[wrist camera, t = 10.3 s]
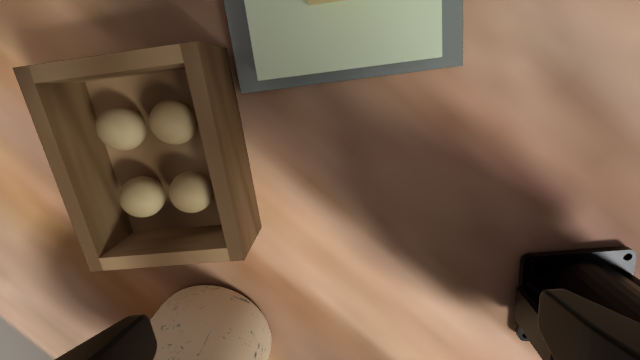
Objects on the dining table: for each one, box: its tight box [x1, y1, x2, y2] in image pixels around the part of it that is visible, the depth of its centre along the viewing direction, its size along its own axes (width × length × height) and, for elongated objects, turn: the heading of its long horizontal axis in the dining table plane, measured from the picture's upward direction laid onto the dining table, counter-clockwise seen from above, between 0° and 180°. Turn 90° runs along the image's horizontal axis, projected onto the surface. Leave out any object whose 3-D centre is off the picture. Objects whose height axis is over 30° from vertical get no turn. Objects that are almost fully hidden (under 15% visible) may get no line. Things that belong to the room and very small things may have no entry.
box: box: [13, 41, 261, 272], centre depth 18 cm, size 9×11×4 cm
